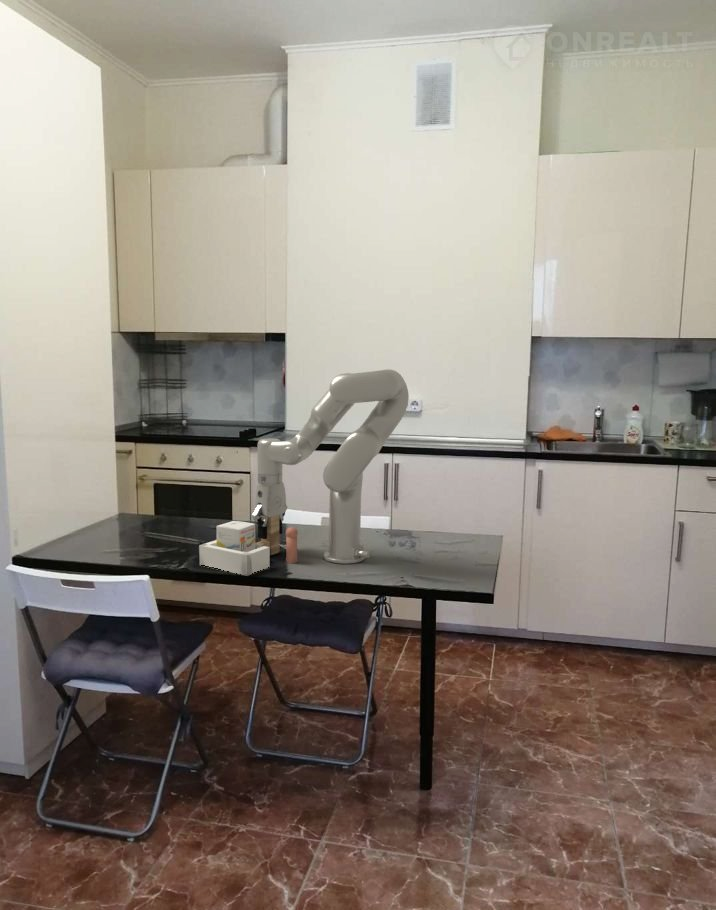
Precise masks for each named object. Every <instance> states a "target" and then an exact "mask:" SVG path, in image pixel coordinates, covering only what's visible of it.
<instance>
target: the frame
mask: <svg viewBox="0 0 716 910" xmlns="http://www.w3.org/2000/svg"><path fill="white" fill-rule="evenodd" d="M198 553H199V559H198V560H199V566H201V565H205V566H209V567H214V568H218V569H221V570H220V571H223V570H224V572H227V571H229V572H228V573H232V574H236V573H237V575H240V574H241V576H247V577H249V576H250V575H253V574H255V573H254V572H256V573H258V572H257V571H259V572H261V571H264V570H266V569H269V568H270V567H271V566H270V564H271V563H270V561H271V560H270V559H271V558H270V556H271V555H270V547H266V546H263V547H260V548H257V549H254V550H251V551H249V552H242V551H237V550H232V549H227V548H222V547H217V539H215V540H212V541H209V542H206V543H202V544H199V546H198ZM205 566H204V567H205ZM209 567H208V568H209ZM268 567H269V568H268ZM214 568H213V569H214ZM218 569H217V570H218ZM263 569H264V570H263ZM260 570H261V571H260ZM252 573H253V574H252Z"/></svg>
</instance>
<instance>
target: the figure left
mask: <svg viewBox="0 0 716 910" xmlns="http://www.w3.org/2000/svg"><path fill="white" fill-rule="evenodd" d="M298 535H299V531H298V529H297V528H296V527H293V526H290V527H288V528H287V529H286V531H285V536H286V539H285V540H286V541H285V544H286V545H285V549H286V550H285V551H286V554H285V556H286V557H285V558H286V561H285V562H286V563H287V564H296V563H298Z"/></svg>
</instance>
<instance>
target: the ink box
mask: <svg viewBox="0 0 716 910" xmlns="http://www.w3.org/2000/svg"><path fill="white" fill-rule="evenodd" d="M216 540H217V547H222V548H227V549H232V550H237V551H242V552H249V551H251V550H254V549H255V543H256V523H254V522H253V523H252V522H246V521H240V520H237V521H236V520H231V521H229V522H226V523H225V522H224V523H222V524H219V525H216Z"/></svg>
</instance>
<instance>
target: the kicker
mask: <svg viewBox="0 0 716 910" xmlns="http://www.w3.org/2000/svg"><path fill="white" fill-rule="evenodd" d="M262 515H263V514H262ZM263 516H264V515H263ZM263 519H264V518H262V519H261V520H262V521H263ZM266 526H267V539H262V538H260V541H258V542H255V549H257V548H260V547H263V546H266V547H270V556H273V555H276V554H278V553H280V534H279V515H278V516H274V517H271V518H268V519H267V523H266Z"/></svg>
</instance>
